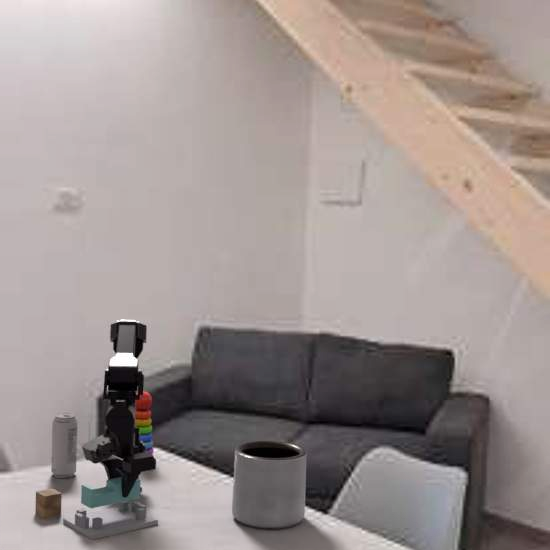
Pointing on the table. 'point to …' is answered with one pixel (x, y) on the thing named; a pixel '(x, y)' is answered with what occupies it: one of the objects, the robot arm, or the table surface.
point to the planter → (269, 484)
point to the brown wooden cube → (48, 503)
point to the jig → (111, 520)
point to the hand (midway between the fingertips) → (119, 494)
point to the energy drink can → (64, 445)
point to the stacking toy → (144, 421)
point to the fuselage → (108, 493)
